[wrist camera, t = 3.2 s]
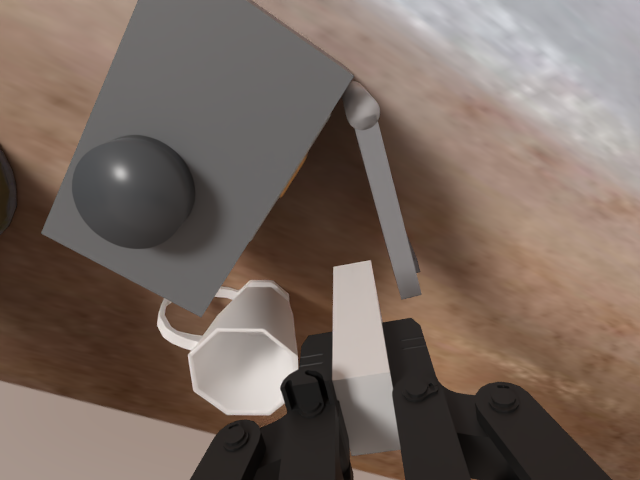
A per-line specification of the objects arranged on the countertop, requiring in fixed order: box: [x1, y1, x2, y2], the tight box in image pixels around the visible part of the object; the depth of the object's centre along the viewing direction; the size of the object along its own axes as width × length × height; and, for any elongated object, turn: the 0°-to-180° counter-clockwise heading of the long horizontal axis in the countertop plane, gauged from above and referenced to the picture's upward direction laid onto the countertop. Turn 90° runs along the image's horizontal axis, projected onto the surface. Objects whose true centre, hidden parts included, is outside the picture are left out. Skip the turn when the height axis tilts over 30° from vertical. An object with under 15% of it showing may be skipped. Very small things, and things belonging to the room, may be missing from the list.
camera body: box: [41, 0, 354, 317], centre depth 23 cm, size 8×13×12 cm, turn 147°
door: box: [342, 81, 422, 299], centre depth 24 cm, size 2×10×9 cm, turn 17°
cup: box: [157, 280, 298, 415], centre depth 30 cm, size 7×10×8 cm
